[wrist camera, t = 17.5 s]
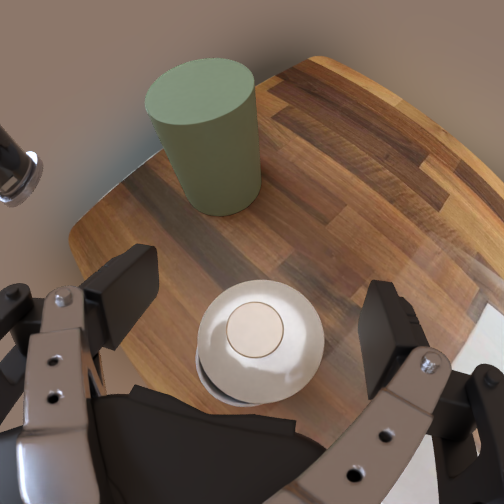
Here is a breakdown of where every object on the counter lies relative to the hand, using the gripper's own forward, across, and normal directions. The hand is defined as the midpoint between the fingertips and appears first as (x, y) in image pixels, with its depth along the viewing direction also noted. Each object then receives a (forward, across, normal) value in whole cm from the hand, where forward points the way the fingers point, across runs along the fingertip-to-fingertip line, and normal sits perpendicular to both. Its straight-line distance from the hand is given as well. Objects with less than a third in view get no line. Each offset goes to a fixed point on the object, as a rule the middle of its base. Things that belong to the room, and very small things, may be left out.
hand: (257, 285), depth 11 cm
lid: (+6, 0, +8) cm, 10 cm away
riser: (+28, +9, +3) cm, 30 cm away
